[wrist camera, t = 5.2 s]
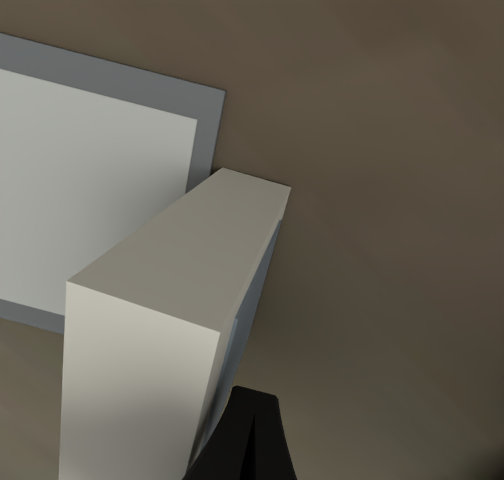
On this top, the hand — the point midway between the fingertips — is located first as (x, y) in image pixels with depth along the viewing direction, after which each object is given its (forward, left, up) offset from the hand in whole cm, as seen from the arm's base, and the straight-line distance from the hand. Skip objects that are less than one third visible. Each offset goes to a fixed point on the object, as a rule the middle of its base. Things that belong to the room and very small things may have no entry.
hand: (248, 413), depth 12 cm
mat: (+11, -7, -10) cm, 16 cm away
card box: (+2, -1, -10) cm, 10 cm away
